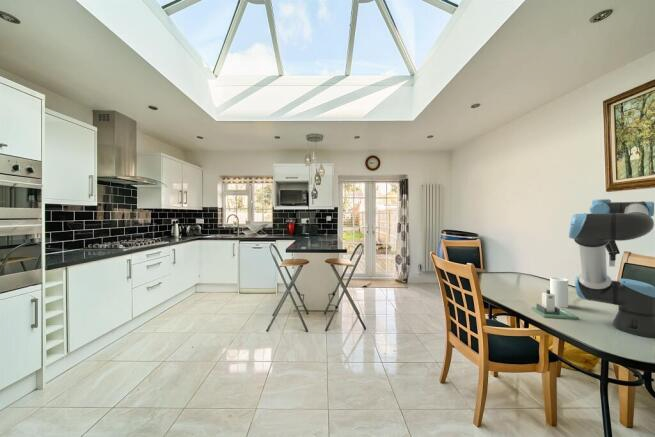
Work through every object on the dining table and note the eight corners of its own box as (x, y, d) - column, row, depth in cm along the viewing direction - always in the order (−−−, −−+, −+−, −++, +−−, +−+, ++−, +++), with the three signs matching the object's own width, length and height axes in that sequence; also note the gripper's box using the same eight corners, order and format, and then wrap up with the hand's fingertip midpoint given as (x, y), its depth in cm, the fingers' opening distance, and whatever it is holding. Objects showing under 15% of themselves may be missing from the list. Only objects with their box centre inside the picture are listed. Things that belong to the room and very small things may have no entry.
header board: (578, 319, 137) (579, 311, 137) (544, 317, 140) (544, 309, 140) (562, 310, 148) (562, 303, 148) (531, 309, 151) (531, 302, 151)
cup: (560, 303, 161) (561, 277, 161) (571, 307, 153) (572, 280, 153) (546, 302, 162) (546, 277, 162) (556, 307, 154) (557, 280, 154)
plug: (546, 312, 143) (546, 291, 143) (541, 309, 147) (542, 288, 147) (554, 313, 142) (554, 291, 142) (549, 310, 146) (550, 289, 146)
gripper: (630, 227, 134) (629, 268, 135) (591, 225, 159) (590, 260, 159) (612, 227, 136) (612, 268, 136) (576, 225, 160) (576, 259, 161)
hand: (600, 264), depth 148 cm, fingers open, 13 cm apart
